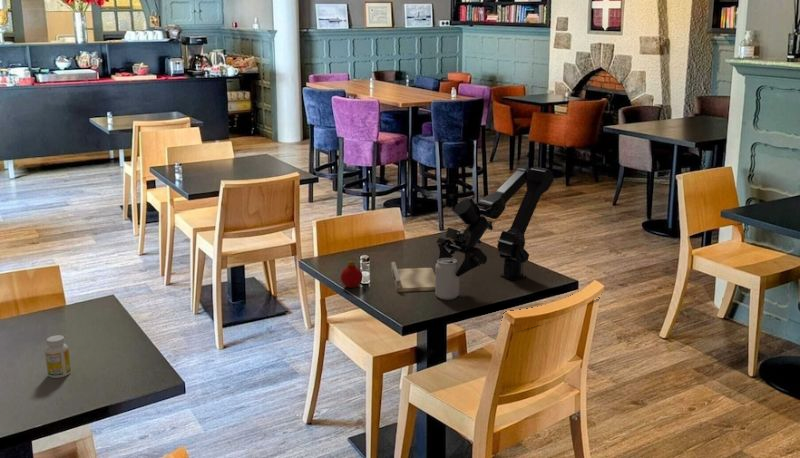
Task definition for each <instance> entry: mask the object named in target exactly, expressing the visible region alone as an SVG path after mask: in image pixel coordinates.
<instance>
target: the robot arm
mask: <svg viewBox="0 0 800 458" xmlns="http://www.w3.org/2000/svg"><path fill="white" fill-rule="evenodd" d="M554 178H555V176H554V173H553V171H552V170H551V169H548V168H543V167H538V166H537V167H536V166H533V167H531V168H529V167H526V166H520V167H517V168H516V169H515V172H514V173H513V174H512V175H511V176H509V178H508V179H507V180H506V181H505V182H504V183H503V184H502V185H501V186H500V187H499V188H498V189H497V190H496V191H495V192H493V193H492V192H491V193H489V194H487V195H485V196H484V197H482V198H481V199H480V200H479V201H478V202H477V203H475V202H474V200H473V198H471V197H469V196H468V197H467V196H466V198H465V199H463V200H461V201H459V202H458V203H456V205H455V206H454V209H453V211H454V213H455V214H456V216H457V217H458V218H459V219H460V220H461V221H462V223H463V224H465V225H467V226H466V227H465V229H464V228H461V229H460V230H459V229H454V228H452V227H447V230H446V232H445V236H444V237H443V236H441V237H439V238H438V239H437V241H436V242H435V244H437V247H438V249H439V254H438V256H439V257H438V259H437V260H439V259H441V258H453V255H454V254H455V253H459V254H462V255H464V260H463V262H462V263H461V265H459V269H458V271H457V273H456V276H457V277H459V278H460V276H462V275H464V274H465V273H467V272H469V271H472V270H473V269H475V268H478V267H481V266H485V265H486V263H487V260H488V256H487V254H485V252H483V251H482V249H481V248H478V247H476V246H477V245H481V243H482V241H481V238H482V236H483V235H484V234H485V232H486V231H487V230H489V231H493V222H492V221H490V220H488V219H492V220H497V219H498V218H499V217H500V216H501V215H502V214H503V213H504V211H505V210H506V204H507V203H508V202H509V200H510V199H512V198H513V196H514V195H515V194H516V193H517V192H518V191H519V190H520V189H521V188H522V187H523V186H524V185H526V191H525V194H524V196H523V198H522V201H521V203H520V205H519V208H518V209H517V212H516V215H515V217H514V219H513V222H512V223H511V226H510V228H509V229H507V231H506V230H502V231H501V233H500V236H499V238H498V240H497V245H496V247H497V251H498V254H499V257H500V259H502V258H503V259H504V261H503V262H504V263H503V273H501V274H500V276H499V277H502V278H505V279H508V280H512V281H517V280H520V279H523V278H526V277H527V274H525V273H524V263H526V262H528V261H529V258H530V253H529V252H528V251H527V250H526V249H525V245H526V239H525V233H526V231H527V229H528V226H529V224H530V221H531V219H532V217H533V215H534V212H535V210H536V208H537V205H538V202H539V200H540V198H541V196H542V195H543V194H545V193H546V192H547V191H548V190H550V187H551V186H552V184H553V182H554ZM450 239H451V240H450Z"/></svg>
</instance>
